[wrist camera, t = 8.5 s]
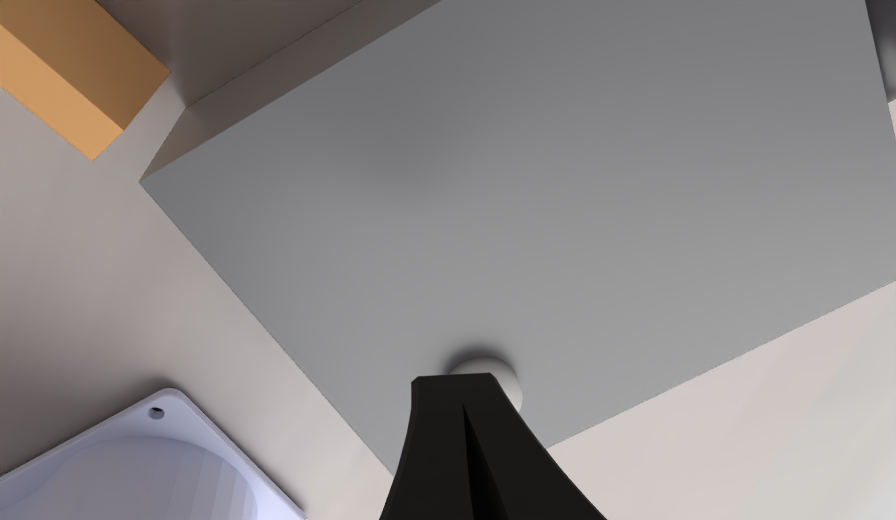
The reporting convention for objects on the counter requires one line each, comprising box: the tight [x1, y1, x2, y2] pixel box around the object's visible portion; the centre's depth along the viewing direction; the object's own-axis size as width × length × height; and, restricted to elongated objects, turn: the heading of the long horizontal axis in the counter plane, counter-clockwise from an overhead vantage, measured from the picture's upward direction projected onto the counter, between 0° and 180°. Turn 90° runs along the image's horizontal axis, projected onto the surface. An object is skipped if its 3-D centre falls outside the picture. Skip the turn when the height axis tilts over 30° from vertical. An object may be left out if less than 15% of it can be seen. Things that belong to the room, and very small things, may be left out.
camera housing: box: [139, 0, 896, 477], centre depth 19 cm, size 17×12×6 cm
